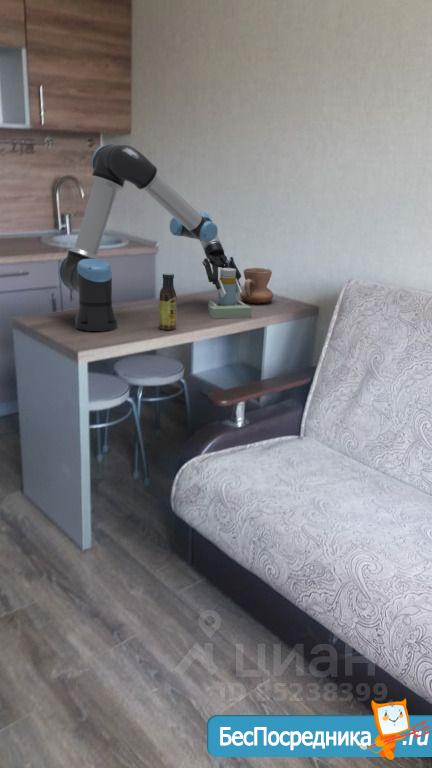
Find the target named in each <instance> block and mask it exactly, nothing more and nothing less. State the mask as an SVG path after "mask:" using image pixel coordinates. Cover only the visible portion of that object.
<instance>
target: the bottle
mask: <svg viewBox="0 0 432 768" xmlns="http://www.w3.org/2000/svg"><path fill="white" fill-rule="evenodd" d="M219 273H220V275H219V276H220V278H218V280H221V282H222V285H223V287H224V290H225V292H226V294H225V296H224V297H221V295H220V292H219V291H218V292H217V293H218V297H217V306H232V305H236V300H237V298H236V297H237V293H236V278H235V277H236V269H233V268H221V267H220V272H219Z"/></svg>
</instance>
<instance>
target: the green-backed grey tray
mask: <svg viewBox="0 0 432 768" xmlns="http://www.w3.org/2000/svg"><path fill="white" fill-rule="evenodd" d="M207 310H208V313H209V314H208V315H209V318H211V320H217V319H219V320H220V319H244V318H245V319H246V318H247V319H249V318H252V307H251V306H250V305H249V304H245V303H244V302H243V301H242V300H240V299H236V302H235V305H232V306H219V305H218V304H216V303H215V302H214V301H213V300H208V309H207Z"/></svg>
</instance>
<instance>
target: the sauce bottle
mask: <svg viewBox="0 0 432 768" xmlns="http://www.w3.org/2000/svg"><path fill="white" fill-rule="evenodd" d="M174 279H175V274H174V273H173V272H164V273H162V287H161V289H160V291H159V300H158V301H159V304H158V323H159V324H158V326H159V329H160V330H165V331H169V330H171V331H172V330H175V329H176V325H177V300H178V298H177V293H176V291H175V290H176V289H175V287H174Z"/></svg>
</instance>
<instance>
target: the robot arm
mask: <svg viewBox="0 0 432 768" xmlns="http://www.w3.org/2000/svg"><path fill="white" fill-rule="evenodd" d="M91 166H92V170H93V171H92V175H91V179H92V181H93V186H92V189H91V193H90V195H89V199H88V201H87V204H86V205H87V206H86V209H85V211H84V215H83V218H82V222H81V225H80V228H79V231H78V235H77V237H76V241H75V244H74V246H73V247H71V248H70V249H68V252H67V254H66V257H65V258H63V259H62V260H60V262H59V264H58V267H57V274H58V278H59V280H60V282H61V284H62V285H63V286H65V287H66V288H67V289H69V290H73V291H75V292H78V310H77V313H76V316H75V320H74V328H75V329H77V328H78V329H77V330H79V329H81V330H80V331H82V330H86V331H85V332H89V331H102V332H108V331H107V330H109V331H113V330H115V329H117V328H118V325H119V324H118V322H119V321H118V318H117V315H116V313H115V309H114V307H113V280H112V279H113V271H112V266H111V264H110V263H109V262H108V261H105V260H103V259H100V258H99V255H98V253H99V250H100V247H101V244H102V241H103V237H104V234H105V231H106V228H107V226H108V225H107V224H108V221H109V219H110V217H111V216H110V215H111V213H112V209H113V205H114V203H115V200H116V196H117V193H118V192H119V191H121V190H122V189H123V188H124V185H125V182H129V183H130V184H131V185H134V186H135V187H136V188H137V189H139V190H144V192H146V193H147V194H148V195H149V196H150V197H151V198H153V200H154V201H156V203H158V204H159V205H160V206H161V207H162V208H163V209H165V210H166V212H168V213H169V214H170V215H171V216H172V218H171V220H170V222H169V231H170V233H171V235H172V236H176V237H177V236H178V237H185V238H190V239H195V240H198V241H199V242H200V244H201V247H202V249H203V251H204V255H205V257H206V258H204V259H203V261H202V265H203V266H204V269H205V272H206V276H207V280H208V282H209V283H212V284H213V285H215V286H214V287H215V288H216V290H217V291H218V292H220V295H221V297H224V296H225V294H226V292H225V290H224V287H223V285H222V282H221V280H219V268H220V269H221V268H233V269H236V277H235V278H236V296H238V297H240V294H241V293H242V288H241V282H240V279H241V277H242V275H241V273H240V271H239V269H238V267H237V264H236V263H235V261H234V257H233V256H231V257H227V256H226V254H225V249H224V248H223V246H222V243H221V240H220V238H219V236H218V231H219V230H218V226H217V224H216V223H214V222H213V220H212V219H211V216H210V215H209V214H208V213H207V212H198V211H197V209H196V208H195V207H193V206H192V204H190V203H189V201H187V200H186V199H185V197H183V196H182V195H181V194H180V193H179V192H178V190H176V189H175V188H174V187H173V186H172V185H171V184H170V183H169V182H168V181H166V179H164V177H162V175H160V174H159V173H158V168H157V167H156V166H155V164H153V162H151V161H150V160H149V159H148V158H147V157H146V156H145V155H144V154H143V153H141V152H140V151H139V150H138V149H136V148H135V147H133V146H130V145H127V144H111V143H109V144H105V145H101V146H99V147H98V148H97V149H96V150H95V151H94V153H93V154H92V157H91ZM211 266H212V267H211Z"/></svg>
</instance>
